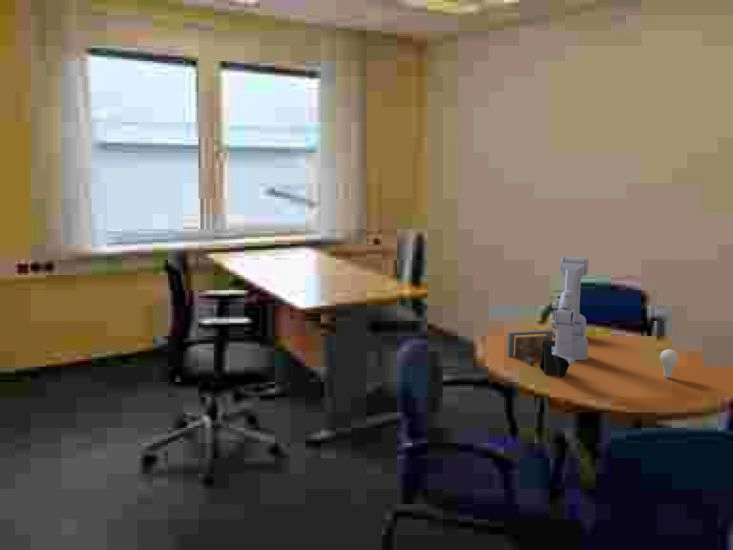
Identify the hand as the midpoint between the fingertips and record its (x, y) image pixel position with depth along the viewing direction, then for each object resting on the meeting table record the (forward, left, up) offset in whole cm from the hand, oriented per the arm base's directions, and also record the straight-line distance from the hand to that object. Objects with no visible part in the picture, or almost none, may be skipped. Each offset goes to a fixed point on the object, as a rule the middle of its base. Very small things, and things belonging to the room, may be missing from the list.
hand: (561, 376), depth 231 cm
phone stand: (0, -9, -2) cm, 10 cm away
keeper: (0, -21, -1) cm, 21 cm away
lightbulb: (-39, +5, -2) cm, 40 cm away
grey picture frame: (0, -29, -1) cm, 29 cm away
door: (0, -26, -1) cm, 26 cm away
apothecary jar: (-26, -52, -2) cm, 58 cm away
